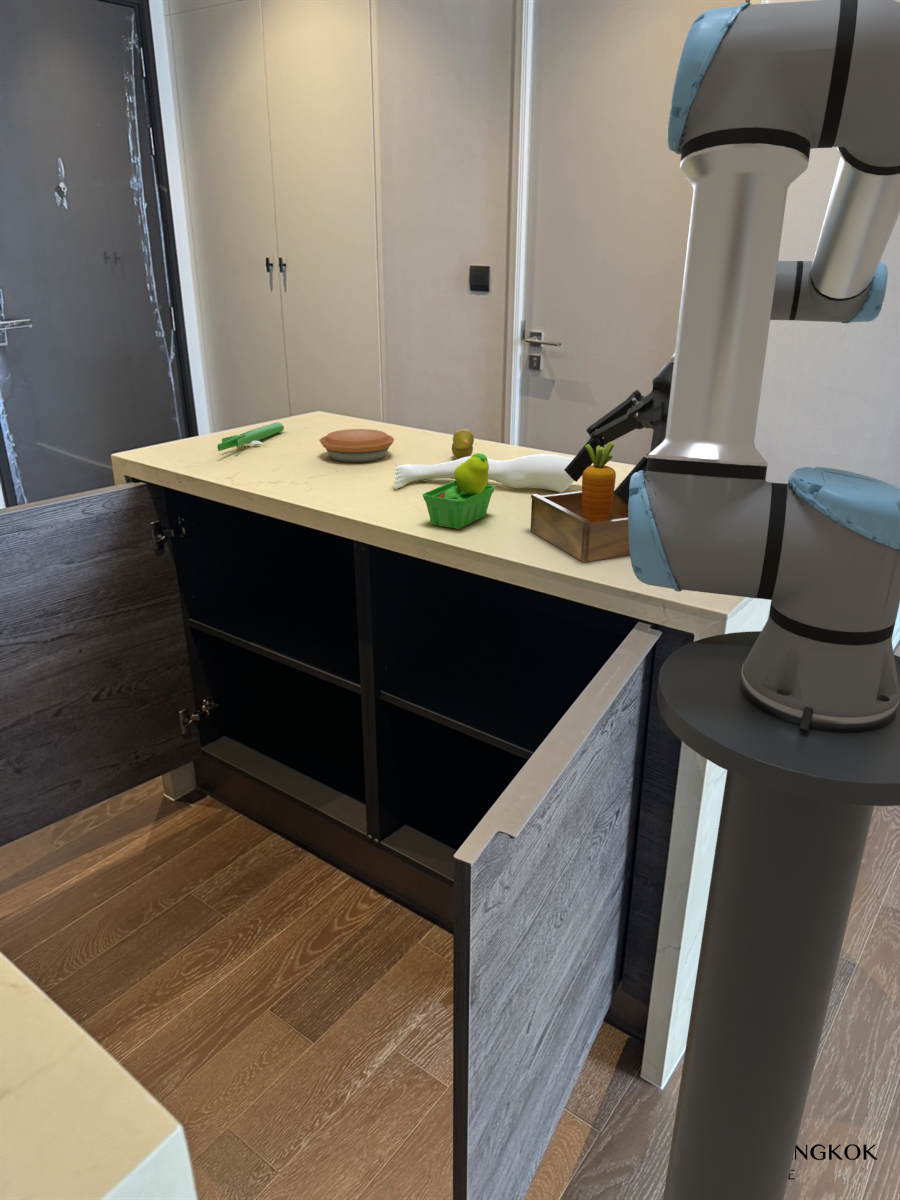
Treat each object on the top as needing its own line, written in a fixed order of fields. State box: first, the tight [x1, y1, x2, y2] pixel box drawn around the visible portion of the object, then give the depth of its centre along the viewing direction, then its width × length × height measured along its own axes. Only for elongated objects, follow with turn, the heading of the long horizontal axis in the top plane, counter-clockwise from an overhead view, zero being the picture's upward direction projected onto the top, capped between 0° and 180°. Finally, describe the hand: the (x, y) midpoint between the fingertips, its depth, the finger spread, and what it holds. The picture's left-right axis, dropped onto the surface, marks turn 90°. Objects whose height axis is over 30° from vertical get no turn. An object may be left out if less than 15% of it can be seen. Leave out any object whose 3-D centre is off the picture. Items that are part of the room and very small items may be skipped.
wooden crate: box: [530, 488, 630, 563], centre depth 129 cm, size 16×14×6 cm
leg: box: [393, 453, 575, 494], centre depth 157 cm, size 7×35×10 cm
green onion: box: [217, 422, 285, 452], centre depth 190 cm, size 5×3×30 cm
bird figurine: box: [451, 428, 475, 460], centre depth 178 cm, size 4×15×6 cm, turn 6°
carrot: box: [581, 441, 617, 522], centre depth 128 cm, size 5×5×15 cm
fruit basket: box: [422, 452, 496, 530], centre depth 137 cm, size 11×9×11 cm
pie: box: [318, 428, 395, 463], centre depth 180 cm, size 15×16×5 cm
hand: (593, 486), depth 127 cm, fingers open, 13 cm apart
